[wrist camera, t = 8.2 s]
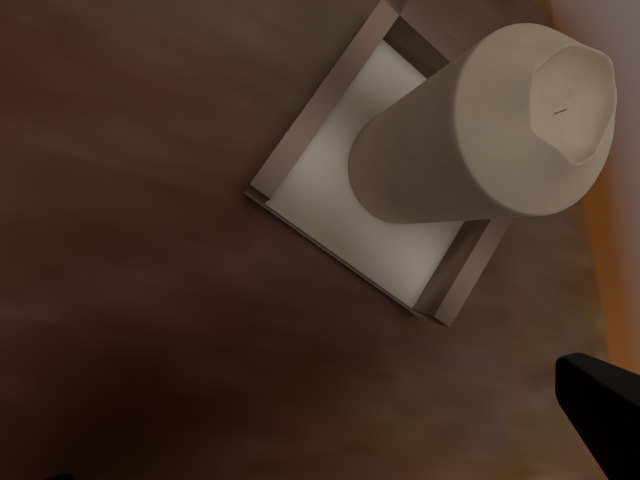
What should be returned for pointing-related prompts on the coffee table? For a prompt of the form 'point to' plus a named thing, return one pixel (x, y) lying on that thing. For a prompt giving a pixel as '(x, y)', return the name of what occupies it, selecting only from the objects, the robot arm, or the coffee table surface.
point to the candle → (491, 133)
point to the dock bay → (334, 181)
